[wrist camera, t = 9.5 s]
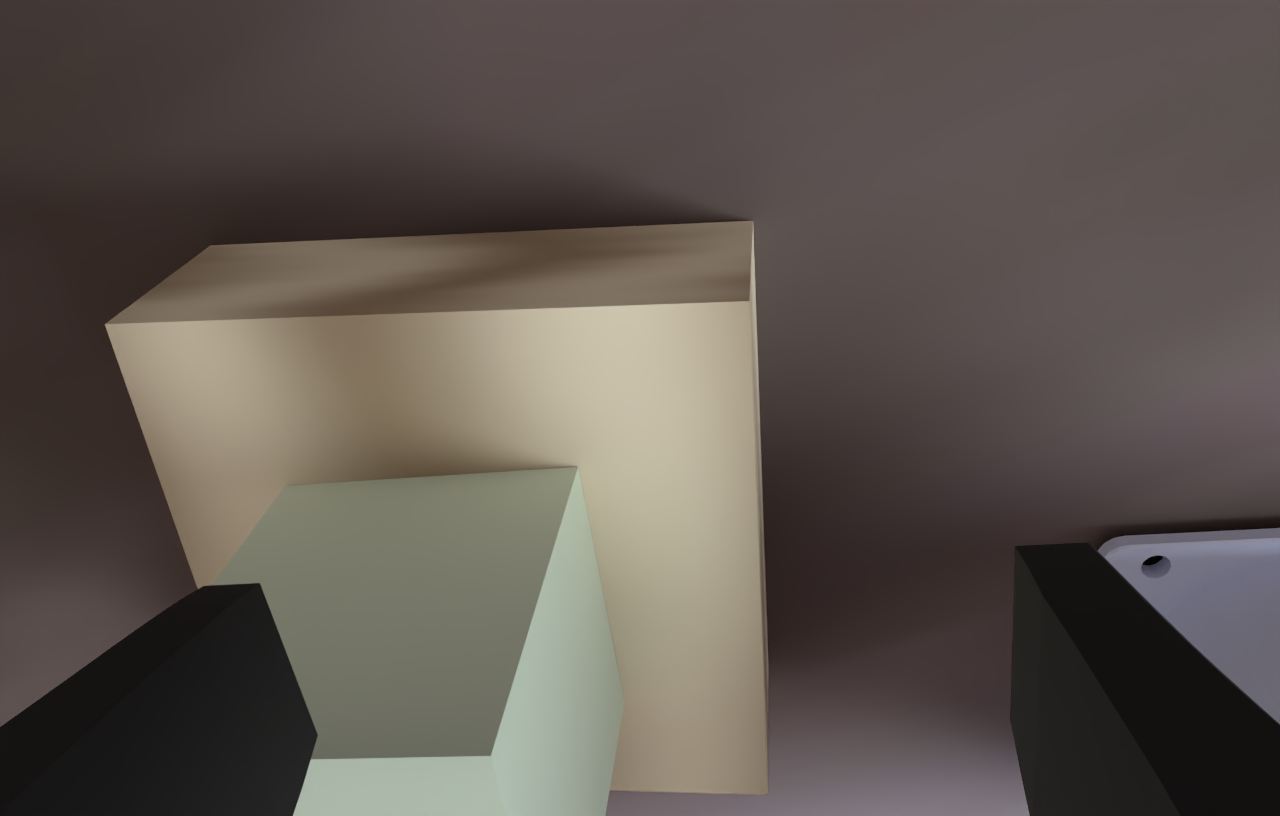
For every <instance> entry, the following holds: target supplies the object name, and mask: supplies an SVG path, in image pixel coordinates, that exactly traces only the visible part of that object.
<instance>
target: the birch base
mask: <svg viewBox="0 0 1280 816" xmlns="http://www.w3.org/2000/svg"><path fill="white" fill-rule="evenodd" d="M105 327H106V329H107V332H108V335H109V338H110V341H111V344H112V346H113V349H114V352H115V355H116V358H117V361H118V364H119V366H120V369H121V372H122V375H123V378H124V381H125V383H126V386H127V389H128V392H129V395H130V398H131V401H132V403H133V406H134V409H135V412H136V415H137V418H138V420H139V423H140V426H141V429H142V432H143V435H144V438H145V440H146V443H147V446H148V449H149V452H150V455H151V457H152V460H153V463H154V466H155V469H156V472H157V475H158V477H159V480H160V483H161V486H162V489H163V492H164V494H165V497H166V500H167V503H168V506H169V509H170V512H171V514H172V517H173V520H174V523H175V526H176V529H177V531H178V534H179V537H180V540H181V543H182V546H183V549H184V551H185V554H186V557H187V560H188V563H189V566H190V568H191V571H192V574H193V577H194V580H195V583H196V585H197V588H198V589H199V588H201V587H203V586H209V585H212V584H213V583H214V581H215V580H216V579H217V577H218V576H219V575H220V573H221V572H222V571H223V569H224V568H225V566H226V565H227V564H228V562H229V561H230V560H231V558H232V557H233V556H234V554H235V553H236V552H237V550H238V549H239V547H240V546H241V545H242V543H243V542H244V541H245V539H246V538H247V537H248V535H249V534H250V533H251V531H252V530H253V529H254V527H255V526H256V524H257V523H258V522H259V520H260V519H261V518H262V516H263V515H264V514H265V512H266V511H267V510H268V508H269V507H270V505H271V504H272V503H273V501H274V500H275V499H276V497H277V496H278V495H279V493H280V492H281V491H282V489H283V488H284V486H288V485H303V484H319V483H334V482H350V481H365V480H381V479H396V478H411V477H427V476H442V475H458V474H473V473H488V472H504V471H519V470H535V469H550V468H565V467H578V469H579V474H580V479H581V484H582V489H583V494H584V499H585V504H586V509H587V514H588V519H589V524H590V529H591V534H592V540H593V545H594V550H595V555H596V560H597V565H598V570H599V575H600V580H601V585H602V590H603V595H604V600H605V605H606V611H607V616H608V621H609V626H610V631H611V636H612V641H613V646H614V651H615V656H616V661H617V666H618V671H619V676H620V682H621V687H622V692H623V697H624V708H623V714H622V720H621V726H620V732H619V738H618V744H617V750H616V756H615V762H614V768H613V774H612V779H611V785H610V791H646V792H684V793H722V794H760V795H768V680H769V663H768V635H767V606H766V578H765V549H764V520H763V492H762V463H761V434H760V406H759V377H758V349H757V320H756V291H755V263H754V234H753V221H734V222H712V223H690V224H669V225H647V226H625V227H603V228H581V229H559V230H537V231H515V232H493V233H471V234H450V235H428V236H406V237H384V238H362V239H340V240H318V241H296V242H274V243H252V244H231V245H210V246H209V247H208V248H206V249H205V250H204V251H202V252H201V253H200V254H198V255H197V256H196V257H194V258H193V259H192V260H190V261H189V262H188V263H186V264H185V265H183V266H182V267H181V268H179V269H178V270H177V271H175V272H174V273H173V274H171V275H170V276H169V277H167V278H166V279H165V280H163V281H162V282H161V283H159V284H158V285H157V286H155V287H154V288H153V289H151V290H150V291H149V292H147V293H146V294H145V295H143V296H142V297H141V298H139V299H138V300H137V301H135V302H134V303H133V304H131V305H130V306H128V307H127V308H126V309H124V310H123V311H122V312H120V313H119V314H118V315H116V316H115V317H114V318H112V319H111V320H110V321H108V322H107V323H106V324H105Z"/></svg>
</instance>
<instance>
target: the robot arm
mask: <svg viewBox="0 0 1280 816" xmlns="http://www.w3.org/2000/svg"><path fill="white" fill-rule="evenodd" d="M1156 555H1159V556H1163V558H1162V560H1160V561H1159V562H1158V563H1156V564H1153V565H1149V566H1147V565H1142V564H1143V562H1144V561H1145V560H1146V559H1148V558H1149V557H1152V556H1156ZM1010 720H1011V725H1012V730H1013V735H1014V740H1015V745H1016V750H1017V755H1018V760H1019V766H1020V771H1021V776H1022V780H1023V785H1024V790H1025V795H1026V799H1027V804H1028V809H1029V814H1030V816H1280V528H1270V529H1250V530H1230V531H1210V532H1190V533H1169V534H1149V535H1129V536H1121V537H1116V538H1113V539H1111V540H1109V541H1107V542H1105V543H1104V544H1103V545H1102V546H1101V547H1100V548H1099V550H1098V551H1097V550H1096V549H1095V548H1094V547H1092V546H1091V545H1090V544H1089V543H1071V544H1051V545H1030V546H1015V572H1014V607H1013V642H1012V677H1011V712H1010ZM317 737H318V734H317V731H316V729H315V726H314V723H313V721H312V718H311V716H310V713H309V710H308V708H307V705H306V703H305V700H304V697H303V695H302V692H301V689H300V687H299V684H298V682H297V679H296V676H295V674H294V671H293V668H292V666H291V663H290V661H289V658H288V655H287V653H286V650H285V647H284V645H283V642H282V640H281V637H280V634H279V632H278V629H277V626H276V624H275V621H274V619H273V616H272V613H271V611H270V608H269V605H268V603H267V600H266V598H265V595H264V592H263V590H262V587H261V585H260V583H250V584H230V585H209V586H203V587H201V588H199V589H198V590H196V591H194V592H193V593H191V594H189V595H188V596H186V597H184V598H183V599H181V600H180V601H178V602H177V603H175V604H173V605H172V606H170V607H169V608H167V609H166V610H164V611H163V612H161V613H160V614H158V615H157V616H156V617H154V618H153V619H151V620H150V621H148V622H147V623H145V624H144V625H143V626H141V627H140V628H138V629H137V630H135V631H134V632H133V633H131V634H130V635H128V636H127V637H126V638H124V639H123V640H121V641H120V642H118V643H117V644H116V645H114V646H113V647H111V648H110V649H109V650H107V651H106V652H105V653H103V654H102V655H100V656H99V657H98V658H96V659H95V660H93V661H92V662H91V663H89V664H88V665H86V666H85V667H84V668H82V669H81V670H79V671H78V672H77V673H75V674H74V675H73V676H71V677H70V678H68V679H67V680H66V681H64V682H63V683H61V684H60V685H59V686H57V687H56V688H54V689H53V690H52V691H50V692H49V693H47V694H46V695H45V696H43V697H42V698H40V699H39V700H38V701H36V702H35V703H33V704H32V705H31V706H29V707H28V708H26V709H25V710H24V711H22V712H21V713H19V714H18V715H17V716H15V717H14V718H12V719H11V720H10V721H8V722H7V723H6V724H4V725H3V726H1V727H0V816H293V814H294V811H295V808H296V805H297V802H298V799H299V796H300V793H301V790H302V787H303V784H304V780H305V777H306V774H307V770H308V767H309V764H310V760H311V757H312V753H313V750H314V747H315V743H316V740H317Z"/></svg>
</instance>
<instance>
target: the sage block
mask: <svg viewBox="0 0 1280 816" xmlns="http://www.w3.org/2000/svg"><path fill="white" fill-rule="evenodd" d="M250 583H260V585H261V587H262V590H263V592H264V595H265V598H266V600H267V603H268V605H269V608H270V611H271V613H272V616H273V619H274V621H275V624H276V626H277V629H278V632H279V634H280V637H281V640H282V642H283V645H284V647H285V650H286V653H287V655H288V658H289V661H290V663H291V666H292V668H293V671H294V674H295V676H296V679H297V682H298V684H299V687H300V689H301V692H302V695H303V697H304V700H305V703H306V705H307V708H308V710H309V713H310V716H311V718H312V721H313V723H314V726H315V729H316V731H317V734H318V737H317V740H316V743H315V747H314V750H313V753H312V757H311V760H310V764H309V767H308V770H307V774H306V777H305V780H304V784H303V787H302V790H301V793H300V796H299V799H298V802H297V805H296V808H295V811H294V814H293V816H605V815H606V809H607V803H608V797H609V791H610V785H611V779H612V774H613V768H614V762H615V756H616V750H617V744H618V738H619V732H620V726H621V720H622V714H623V708H624V697H623V692H622V687H621V682H620V676H619V671H618V666H617V661H616V656H615V651H614V646H613V641H612V636H611V631H610V626H609V621H608V616H607V611H606V605H605V600H604V595H603V590H602V585H601V580H600V575H599V570H598V565H597V560H596V555H595V550H594V545H593V540H592V534H591V529H590V524H589V519H588V514H587V509H586V504H585V499H584V494H583V489H582V484H581V479H580V474H579V469H578V467H565V468H550V469H535V470H519V471H504V472H488V473H473V474H458V475H442V476H427V477H411V478H396V479H381V480H365V481H350V482H334V483H319V484H303V485H288V486H284V488H283V489H282V491H281V492H280V493H279V495H278V496H277V497H276V499H275V500H274V501H273V503H272V504H271V505H270V507H269V508H268V510H267V511H266V512H265V514H264V515H263V516H262V518H261V519H260V520H259V522H258V523H257V524H256V526H255V527H254V529H253V530H252V531H251V533H250V534H249V535H248V537H247V538H246V539H245V541H244V542H243V543H242V545H241V546H240V547H239V549H238V550H237V552H236V553H235V554H234V556H233V557H232V558H231V560H230V561H229V562H228V564H227V565H226V566H225V568H224V569H223V571H222V572H221V573H220V575H219V576H218V577H217V579H216V580H215V581H214V583H213V584H212V585H230V584H250Z"/></svg>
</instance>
